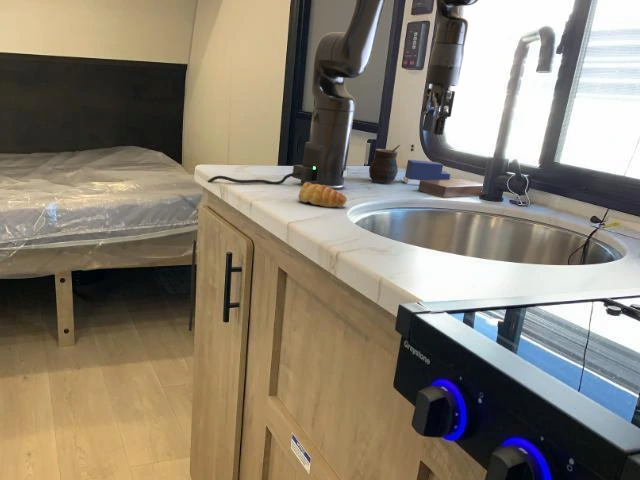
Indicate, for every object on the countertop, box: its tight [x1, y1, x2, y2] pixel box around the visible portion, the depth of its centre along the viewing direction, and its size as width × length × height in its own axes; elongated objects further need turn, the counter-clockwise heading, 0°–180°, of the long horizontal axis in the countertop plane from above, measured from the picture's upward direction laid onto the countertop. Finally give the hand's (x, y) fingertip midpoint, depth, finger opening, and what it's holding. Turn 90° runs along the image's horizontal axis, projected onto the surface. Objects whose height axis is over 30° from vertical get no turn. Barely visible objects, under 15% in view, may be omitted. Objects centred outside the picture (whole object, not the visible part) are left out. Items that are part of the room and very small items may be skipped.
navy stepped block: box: [402, 159, 451, 186], centre depth 156 cm, size 11×4×6 cm, turn 92°
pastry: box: [297, 182, 348, 208], centre depth 121 cm, size 9×7×4 cm
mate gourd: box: [368, 144, 401, 184], centre depth 152 cm, size 7×8×10 cm
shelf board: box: [417, 178, 485, 198], centre depth 147 cm, size 16×8×2 cm, turn 122°
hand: (432, 132), depth 152 cm, fingers open, 8 cm apart
